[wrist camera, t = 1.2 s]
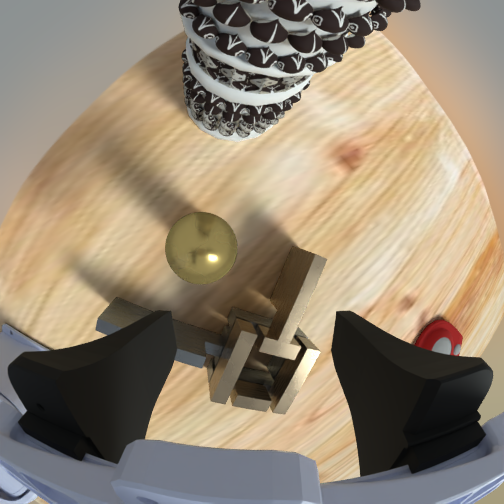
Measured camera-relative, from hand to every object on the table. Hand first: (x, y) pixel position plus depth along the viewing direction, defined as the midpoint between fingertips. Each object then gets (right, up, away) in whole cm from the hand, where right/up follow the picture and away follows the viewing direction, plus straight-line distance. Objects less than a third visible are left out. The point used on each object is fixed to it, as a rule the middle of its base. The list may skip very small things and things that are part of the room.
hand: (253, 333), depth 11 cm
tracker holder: (+23, -11, +19) cm, 32 cm away
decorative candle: (-2, +17, +9) cm, 19 cm away
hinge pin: (-4, +5, +10) cm, 12 cm away
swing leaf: (+1, -2, +12) cm, 13 cm away
